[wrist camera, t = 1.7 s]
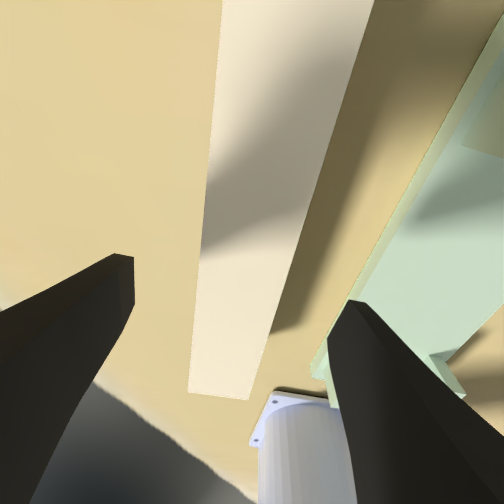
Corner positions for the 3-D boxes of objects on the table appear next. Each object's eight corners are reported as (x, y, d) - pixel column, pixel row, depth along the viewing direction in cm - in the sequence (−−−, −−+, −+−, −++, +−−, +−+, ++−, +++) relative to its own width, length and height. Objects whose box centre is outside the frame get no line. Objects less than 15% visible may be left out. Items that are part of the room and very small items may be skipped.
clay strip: (251, 337, 19) (248, 400, 15) (202, 330, 19) (187, 391, 15) (337, 12, 10) (385, -36, 6) (243, -9, 9) (230, -74, 6)
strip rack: (406, 382, 21) (430, 432, 18) (309, 365, 20) (317, 414, 17) (702, 62, 10) (892, 51, 7) (509, 1, 9) (628, -40, 6)
